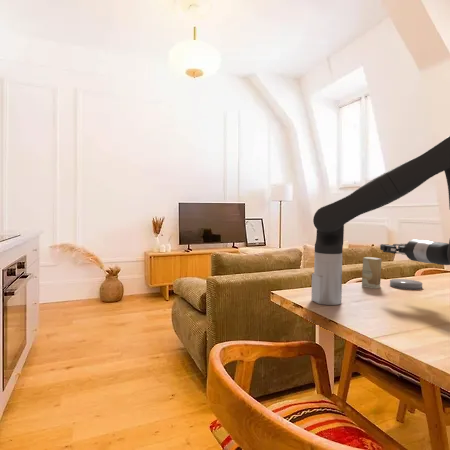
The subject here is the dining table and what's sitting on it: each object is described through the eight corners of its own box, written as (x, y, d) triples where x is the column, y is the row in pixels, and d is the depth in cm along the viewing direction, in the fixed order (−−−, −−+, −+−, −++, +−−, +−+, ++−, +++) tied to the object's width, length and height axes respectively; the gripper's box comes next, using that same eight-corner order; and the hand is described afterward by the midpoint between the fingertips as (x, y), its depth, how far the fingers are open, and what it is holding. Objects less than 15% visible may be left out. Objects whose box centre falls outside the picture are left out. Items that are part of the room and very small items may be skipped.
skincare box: (361, 286, 143) (362, 257, 142) (365, 285, 146) (366, 256, 145) (377, 289, 138) (377, 259, 138) (381, 287, 141) (381, 258, 141)
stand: (403, 290, 136) (403, 285, 136) (383, 284, 148) (383, 279, 148) (429, 289, 139) (429, 284, 138) (407, 282, 150) (407, 278, 150)
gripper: (442, 239, 116) (407, 236, 132) (405, 240, 113) (374, 237, 129) (441, 261, 116) (406, 255, 132) (405, 263, 113) (374, 257, 129)
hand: (390, 246), depth 130 cm, fingers open, 8 cm apart
